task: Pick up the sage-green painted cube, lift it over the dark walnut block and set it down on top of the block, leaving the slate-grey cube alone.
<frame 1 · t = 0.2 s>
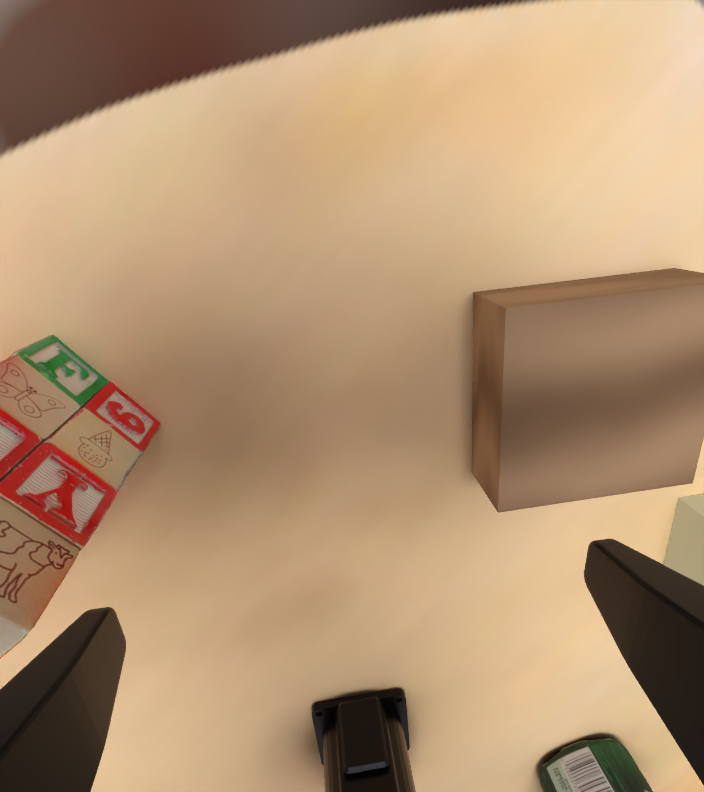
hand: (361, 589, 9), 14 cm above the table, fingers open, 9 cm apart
walnut block: (562, 374, 24), on the table
coffee jar: (583, 764, 39), on the table
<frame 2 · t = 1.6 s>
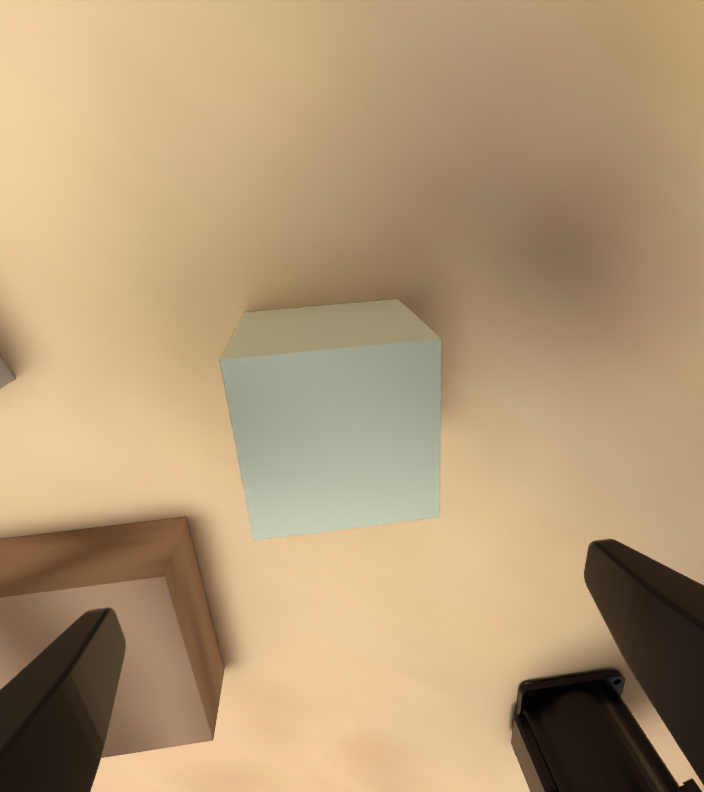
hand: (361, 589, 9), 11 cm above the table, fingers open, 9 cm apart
walnut block: (105, 606, 23), on the table
sage cube: (328, 377, 19), on the table
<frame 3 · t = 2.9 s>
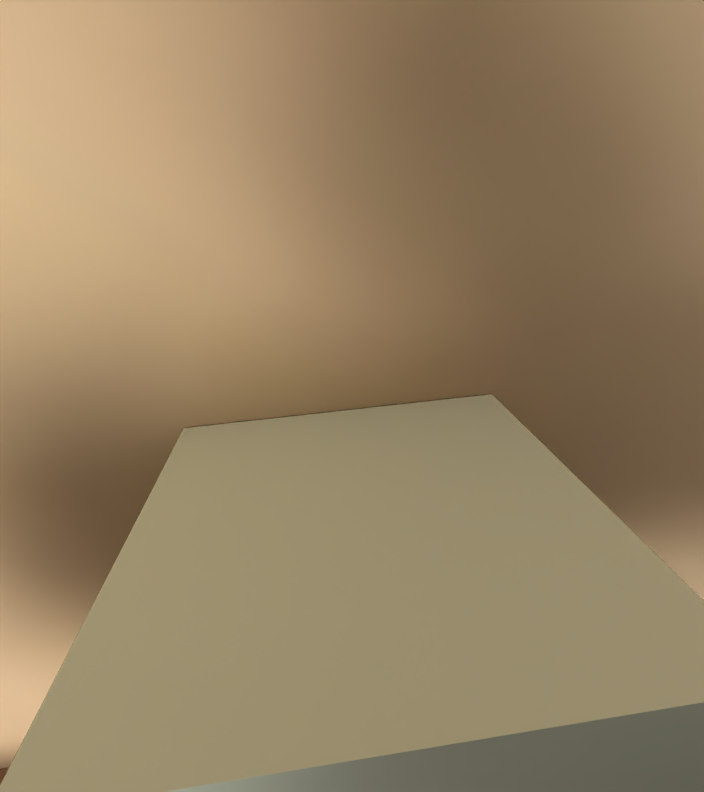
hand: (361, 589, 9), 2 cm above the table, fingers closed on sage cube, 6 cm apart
sage cube: (352, 534, 10), on the table, touching gripper
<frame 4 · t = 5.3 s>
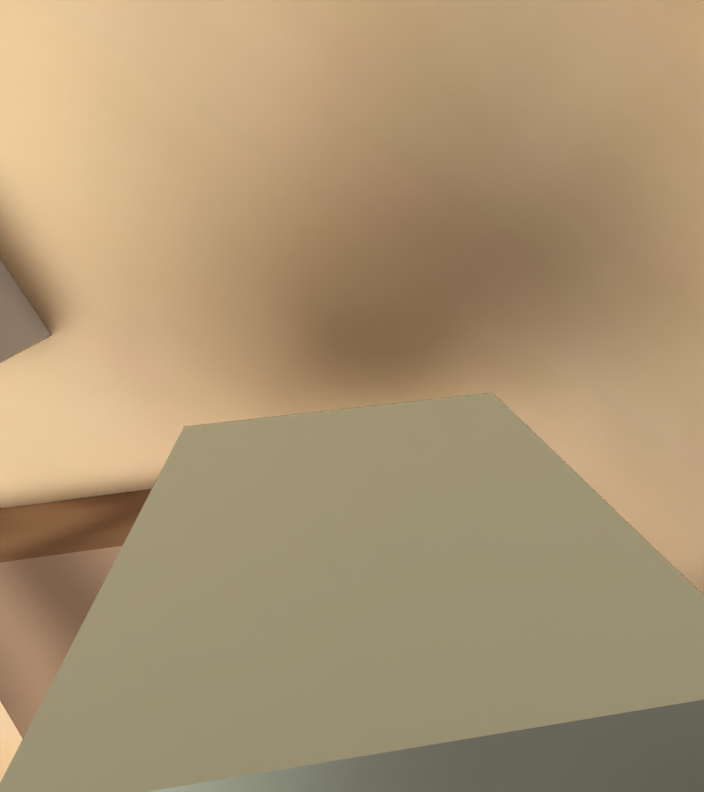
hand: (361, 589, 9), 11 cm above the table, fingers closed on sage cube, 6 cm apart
walnut block: (139, 575, 22), on the table
sage cube: (353, 533, 10), point 10 cm above the table, touching gripper
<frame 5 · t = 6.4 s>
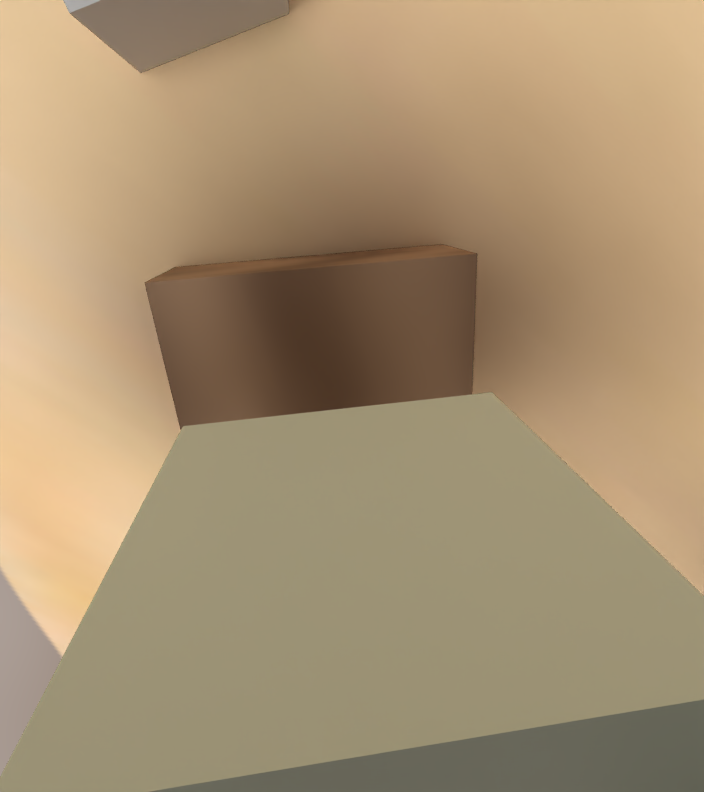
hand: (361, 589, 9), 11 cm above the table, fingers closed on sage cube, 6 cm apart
walnut block: (323, 377, 19), on the table
sage cube: (352, 533, 10), point 10 cm above the table, touching gripper
when the fingers open (7 cm above the table, at t = 7.6 s): sage cube drops 2 cm, resting on walnut block.
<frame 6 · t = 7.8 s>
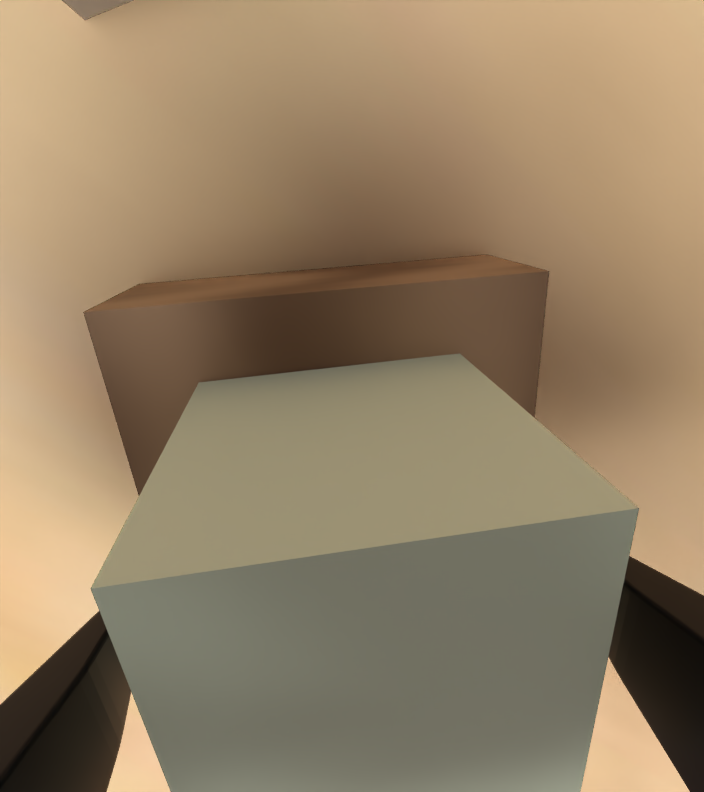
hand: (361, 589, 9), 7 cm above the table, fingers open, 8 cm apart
walnut block: (331, 419, 15), on the table, touching sage cube
sage cube: (343, 478, 12), point 4 cm above the table, touching walnut block
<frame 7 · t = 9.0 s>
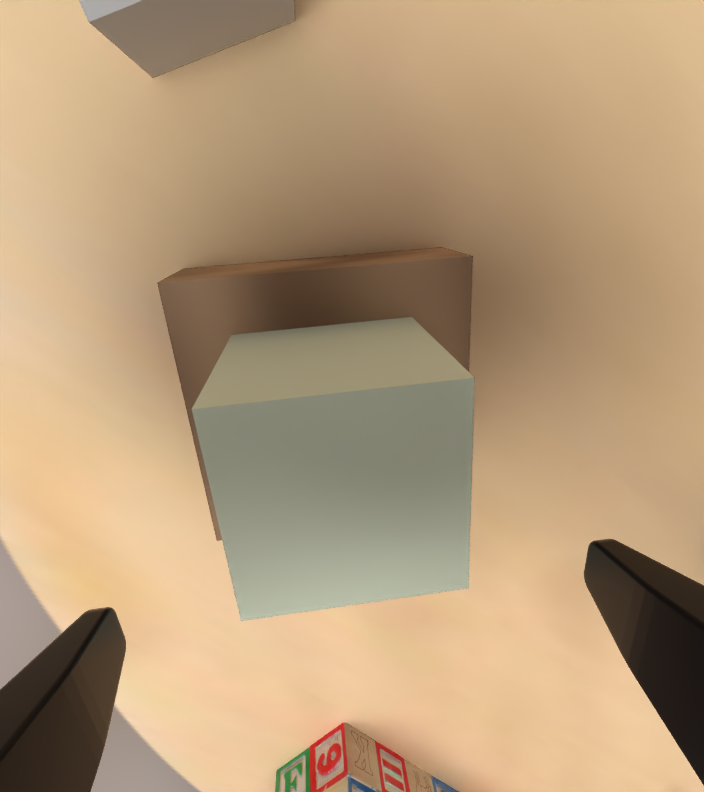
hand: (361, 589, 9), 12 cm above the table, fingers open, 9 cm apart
walnut block: (326, 374, 20), on the table
sage cube: (331, 407, 16), point 3 cm above the table
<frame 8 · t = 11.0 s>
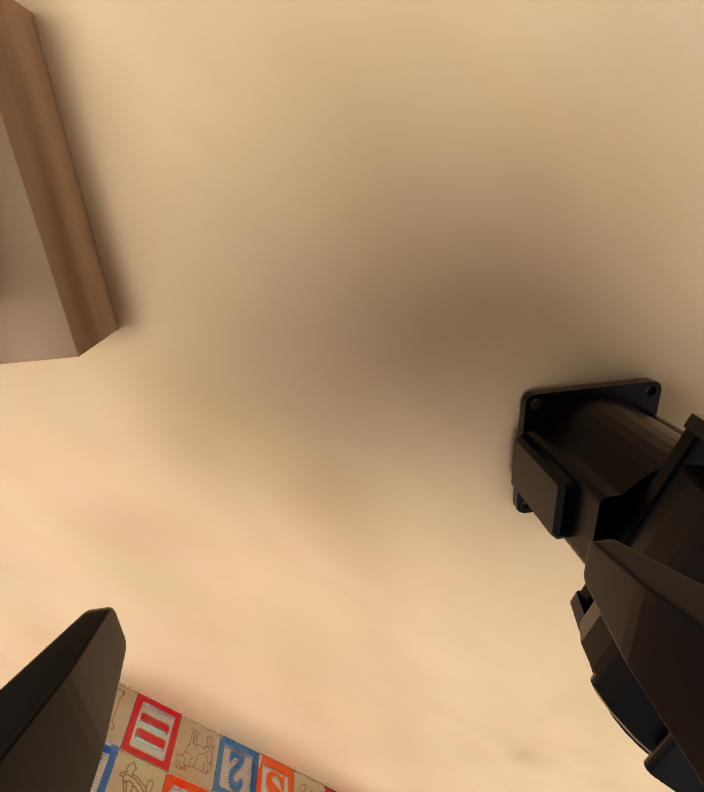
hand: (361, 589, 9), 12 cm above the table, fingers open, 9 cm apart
stack of blocks: (209, 762, 29), on the table
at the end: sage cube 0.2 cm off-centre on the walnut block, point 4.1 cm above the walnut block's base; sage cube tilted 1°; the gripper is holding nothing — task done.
